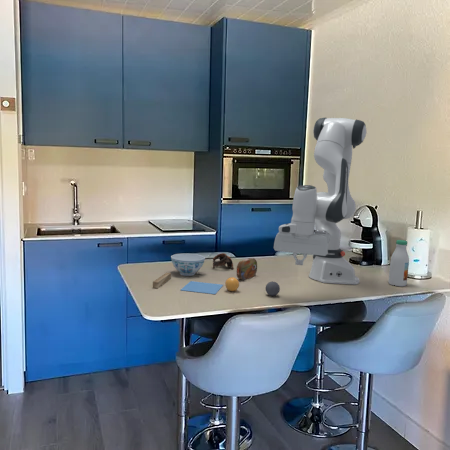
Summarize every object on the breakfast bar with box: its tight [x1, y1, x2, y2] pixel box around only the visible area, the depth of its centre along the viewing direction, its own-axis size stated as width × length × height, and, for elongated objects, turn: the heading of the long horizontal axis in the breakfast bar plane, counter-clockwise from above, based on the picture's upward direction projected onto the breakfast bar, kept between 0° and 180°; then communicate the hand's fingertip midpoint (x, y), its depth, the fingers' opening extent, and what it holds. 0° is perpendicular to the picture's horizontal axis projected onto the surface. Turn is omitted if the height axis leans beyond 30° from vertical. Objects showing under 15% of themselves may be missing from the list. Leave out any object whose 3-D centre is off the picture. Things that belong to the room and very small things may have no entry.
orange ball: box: [224, 276, 240, 292], centre depth 179 cm, size 6×6×6 cm
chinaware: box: [170, 253, 206, 277], centre depth 202 cm, size 15×15×8 cm
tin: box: [236, 257, 258, 281], centre depth 201 cm, size 15×3×8 cm, turn 148°
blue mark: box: [180, 280, 224, 295], centre depth 182 cm, size 14×14×1 cm
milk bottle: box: [388, 239, 410, 287], centre depth 202 cm, size 8×8×20 cm
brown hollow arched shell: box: [212, 252, 234, 270], centre depth 217 cm, size 12×9×8 cm
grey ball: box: [265, 281, 281, 297], centre depth 176 cm, size 6×6×6 cm
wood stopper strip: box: [152, 272, 172, 289], centre depth 185 cm, size 2×16×2 cm, turn 168°
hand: (299, 264), depth 172 cm, fingers closed
